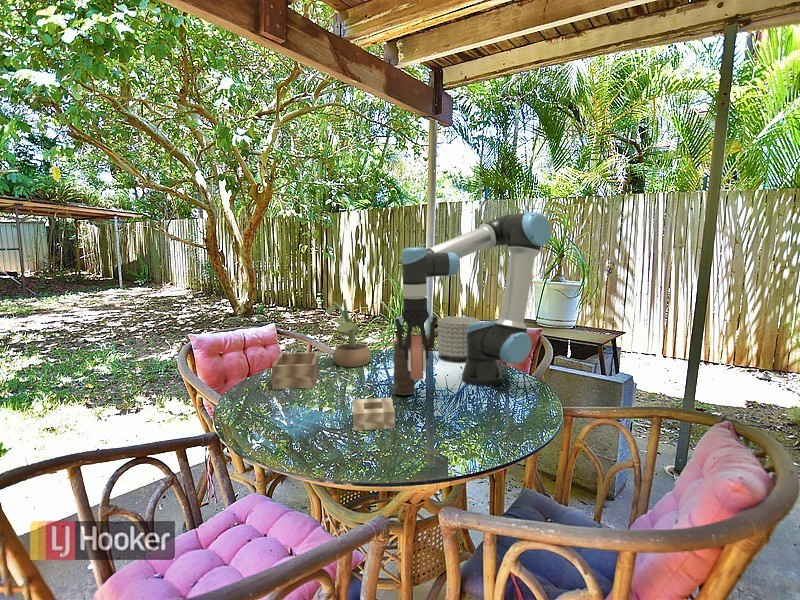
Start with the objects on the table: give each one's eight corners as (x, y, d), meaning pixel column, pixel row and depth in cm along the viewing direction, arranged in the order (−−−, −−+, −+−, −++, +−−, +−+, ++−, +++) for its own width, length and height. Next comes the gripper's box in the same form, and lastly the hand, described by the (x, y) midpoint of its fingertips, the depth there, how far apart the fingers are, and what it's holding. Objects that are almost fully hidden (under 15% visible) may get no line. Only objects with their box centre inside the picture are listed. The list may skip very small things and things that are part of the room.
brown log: (412, 398, 154) (412, 342, 152) (391, 397, 156) (391, 341, 153) (416, 391, 162) (415, 337, 159) (396, 390, 163) (395, 336, 161)
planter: (436, 362, 201) (436, 322, 199) (439, 352, 220) (439, 316, 218) (479, 364, 198) (479, 323, 196) (478, 353, 217) (479, 316, 215)
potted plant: (340, 357, 212) (338, 294, 208) (376, 359, 207) (375, 295, 204) (319, 370, 191) (317, 300, 187) (358, 373, 186) (357, 301, 182)
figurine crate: (318, 373, 186) (318, 352, 184) (314, 388, 166) (314, 364, 165) (281, 374, 184) (280, 353, 183) (272, 389, 165) (271, 366, 164)
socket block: (391, 413, 141) (391, 397, 141) (394, 428, 129) (394, 411, 129) (353, 414, 140) (353, 399, 139) (353, 430, 128) (352, 413, 127)
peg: (422, 375, 145) (421, 333, 143) (424, 379, 141) (423, 336, 139) (410, 376, 145) (408, 334, 143) (411, 380, 141) (410, 336, 139)
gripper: (439, 294, 144) (440, 364, 147) (387, 296, 142) (389, 367, 145) (444, 297, 137) (445, 371, 140) (388, 299, 135) (391, 374, 138)
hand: (416, 369), depth 143 cm, fingers closed on peg, 4 cm apart
